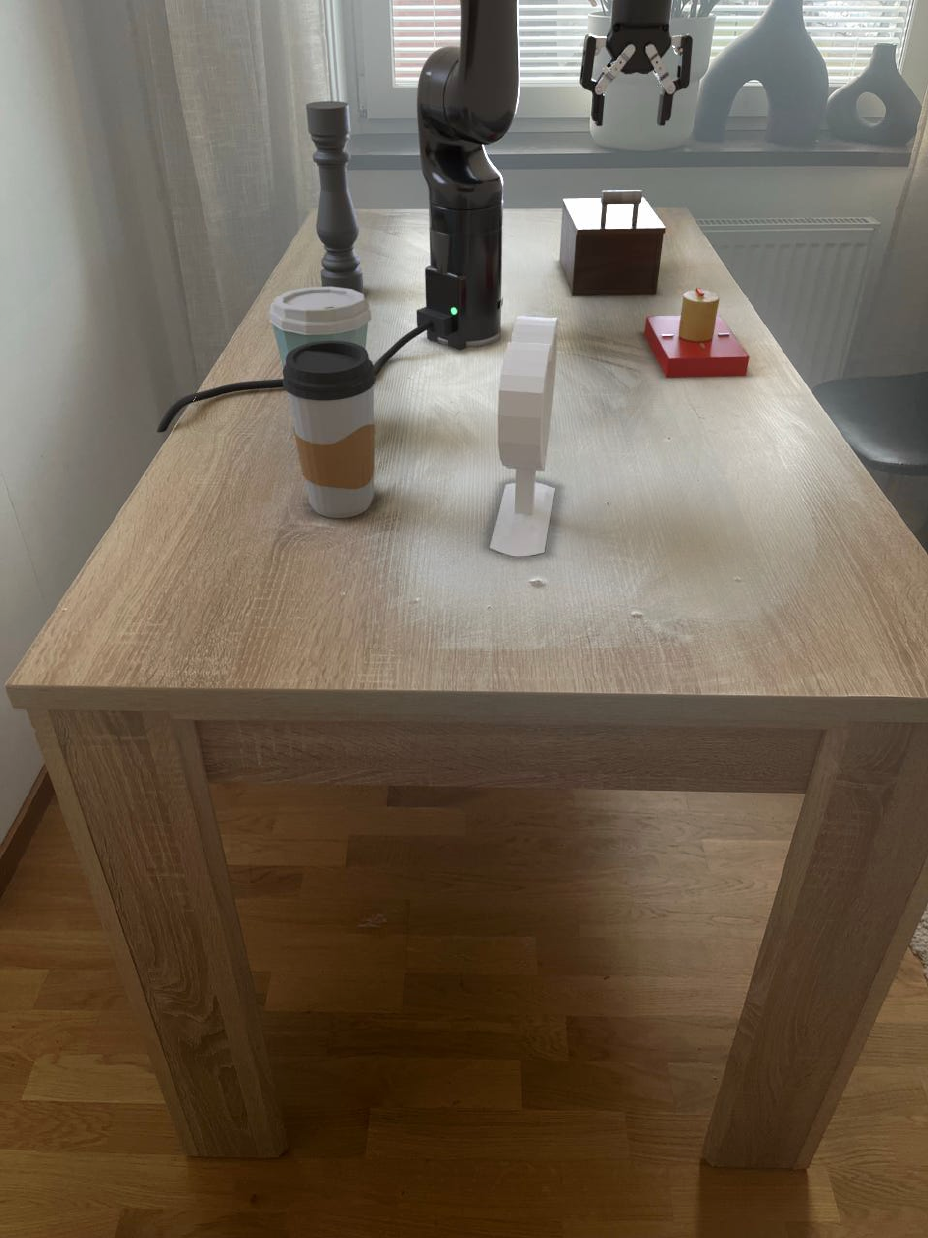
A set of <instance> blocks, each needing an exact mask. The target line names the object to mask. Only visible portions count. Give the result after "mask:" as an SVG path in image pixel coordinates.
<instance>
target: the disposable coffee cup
mask: <svg viewBox="0 0 928 1238" xmlns="http://www.w3.org/2000/svg"><path fill="white" fill-rule="evenodd" d="M269 309H270V310H269V321H268V322H269V323H270V324H271V325H272V331H273V334H274V338H275V340H276V345H277V349H278V353H279V357H280V361H281V365H282V369H283V368H284V366H285V365H286V357H287V354H288V353H289V352H290V351H292V350H293V349H295V348H297V347H299V346H302V345H305V344H308V343H313V342H318V341H345V342H350V343H354V344H357V345H360V346H362V347H363V348H364V349H366V348H367V338H368V327H369V322H371V321H372V310H371V309H370V301H368V300H367V299H366V298H365V293H364V294H362V293H360V292H357V291H355V290H352V289H346V288H338V287H322V286H309V287H304V288H296V289H292V290H288V291H285V292H284V293H281V294H279V295H277V296H275V297H274V301H272V302H271V303H270V308H269ZM366 350H367V349H366Z"/></svg>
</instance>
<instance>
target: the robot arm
mask: <svg viewBox="0 0 928 1238" xmlns="http://www.w3.org/2000/svg"><path fill="white" fill-rule="evenodd" d="M459 6H460V8H459V9H460V32H459V33H460V35H459V36H460V38H459V46H457V45H456V46H455V45H448V46H443V47H440V48H438V49H436V50H435V51H433V52H432V53H431V54H430V55H429V56H428V57H427V59H426V60H425V62H424V63H423V65H422V68H421V70H420V74H419V78H418V81H417V82H418V83H417V89H416V116H417V119H416V120H417V131H418V133H417V134H418V145H419V147H418V148H419V159H420V167H421V172H422V176H423V179H424V180H425V183H426V186H427V194H428V220H429V221H428V223H429V224H428V225H429V228H428V229H429V258H430V259H429V263H430V265H427V266H426V267H425V268H424V279H425V281H424V282H425V285H424V286H425V306H424V307H421V308H419V309H416V312H415V313H416V327H415V328H413V329H412V330H410V331H409V332H407V333H406V334H405V335H403V336H402V337H401V338H400V339H398V340H397V341H396V342H395V343H394V344H393V345H392V346H391V347H390V348H389V349H388V350H387V351H386V352H385V353H383V355H381V356H380V357H379V358H378V360H377V361H376V362H375V363H374V364H373V366H374V374H375V376H376V375H377V374H378V373H379V372H380V371H381V369H382V368H383V367H384V365H385V364H386V363H387V362H388V361H389V360H391V359H392V357H394V356H395V355H396V354H397V353H398V352H399V351H400V350H401V349H402V348H403V347H405V346H406V345H407V344H408V343H409V342H410V341H412V340H414V339H415V338H416V337H418V336H419V335H421V334H422V333H424V332H426V339H427V340H429V341H432V342H434V343H437V344H440V345H443V346H446V347H448V348H451V349H454V350H457V351H463V350H465V349H473V348H481V347H486V346H490V345H492V344H495V343H496V342H498V341H499V340H500V339H501V337H502V325H501V324H502V307H503V304H504V296H502V280H503V279H502V278H503V277H502V275H503V273H502V271H503V269H502V267H503V226H504V225H503V224H504V223H503V222H504V180H503V175H502V174H501V173H500V172H499V170H498V169H497V168H496V167H495V166H494V164H493V163H492V161H491V160H490V158H489V156H488V154H487V152H486V149H485V146H490V145H494V144H497V142H499V141H501V140H502V139H503V138H504V137H505V136H506V135H507V134H508V132H509V130H510V129H511V127H512V125H513V123H514V120H515V118H516V114H517V111H518V106H519V99H520V39H519V36H520V35H519V0H459ZM672 8H673V0H611V9H610V10H611V11H610V21H609V23H610V24H609V30H608V33H607V35H606V36H601V35H600V36H599V35H593V34H591V33H587V34H585V36H584V39H583V47H582V56H581V63H580V73H579V79H578V81H579V82H578V83H579V85H580V86H581V87H582V89H584V90H588V91H589V92H591V108H590V117H591V120H592V121H593V122H594V125H595V126H596V127H602V126H603V123H604V111H605V99H606V95H605V94H604V92H605V91H606V90H607V87H608V86H609V85H610V84H611V83H612V81H614V80H615V79H616V77H617V76H618V75H619V73H621V74H624V75H633V74H636V73H637V74H641V75H649V73H651V72H653V74H654V76H655V77H656V79H657V81H658V82H659V85H660V87H661V89H662V91H661V92H659V98H658V108H657V116H656V123H657V125H658V126H661V127H663V126H666V122H669V121H670V119H671V117H672V110H673V102H674V101H673V100H674V95H675V93H677V91H680V90H684V89H687V88H688V87H689V86H690V82H691V70H692V56H693V44H694V43H693V42H694V38H693V37H692V36H691V35H690V34H689V33H685V32H683V33H682V34H680V35H671V32H670V23H671V17H672V16H671V15H672ZM671 46H672V47H673V52H674V54H676V55H677V67H676V77H675V78H672V77H671V76H670V74H669V71H668V70H667V67H666V65H665V64H664V61H663V60H662V59H663V58H664V56H666V53H667V52H668V51H669V49H670V48H671ZM603 47H605V49H606V51H607V52H608V55H609V57H610V58H609V60H608V61H607V63H606V64H605V66H604V67H603V68H602V71H601V72H600V73H599V76H598V77H597V78H596V79H593V71H594V63H595V57H596V56H599V54H600V53H601V51H602V49H603ZM279 388H284V386H283V378H278V379H265V380H251V381H241V382H233V383H229V384H223V385H220V386H217V387H213V388H209V389H206V390H202V391H198V392H194V393H191V394H187V395H185V396H183V397H181V398H179V399H178V400H176V402H174V403H173V404H172V405H171V407H169V408H168V410H167V412H166V413H165V414H164V415H163V417H162V419H161V421H160V422H159V424H158V427H157V430H156V433H159V434H160V433H165V432H166V431H168V428H169V426H170V425H171V423H172V421H173V420H174V418H175V417H176V416H177V414H178V413H179V412H180V411H181V410H182V409H183V408H185V407H186V406H188V405H191V404H193V403H194V404H195V403H197V402H201V401H204V400H208V399H212V398H215V397H219V396H222V395H226V394H229V393H235V392H242V391H249V390H263V389H279ZM195 397H196V398H195ZM194 399H195V400H194ZM193 400H194V401H193Z"/></svg>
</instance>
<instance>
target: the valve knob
mask: <svg viewBox="0 0 928 1238" xmlns="http://www.w3.org/2000/svg"><path fill="white" fill-rule="evenodd" d="M720 298H721V297H720V295H719V294H718V293H716V292H713V291H710V290H704V289H703V290H702V288H701V287H695V289H693V290H689V291H686V292H685V293H684V294H683V297H682V304H681V310H680V316H681V317H680V324H679V331H678V335H679V336H680V337H681V338H683V339H685V340H689V341H696V342H701V341H708V340H710V339H712V338H713V335H714V329H715V323H716V317H717V315H718V311H719V304H720Z"/></svg>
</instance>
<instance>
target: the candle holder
mask: <svg viewBox="0 0 928 1238" xmlns="http://www.w3.org/2000/svg"><path fill="white" fill-rule="evenodd" d="M305 109H306V110H305V111H306V119H307V130H308V134H310V138H311V141H312V142H313V143H314V147H315V148H316V150H315V152H314V153H313V154H312V160H313V162H314V163H315V164H316V166H317V167H318V175H319V186H320V191H319V197H318V208H317V217H316V225H315V229H316V234H317V236H318V238H319V240H320V242H321V243H322V244H323V248H324V249H323V250H325V251H326V252H325V253H324V254H323V257H322V258H321V260H320V263H321V267H322V269H321V270H320V280H321V287H338V288H346V289H352V290H355V291H357V292H360V293H362V294H364V295H365V289H364V288H365V287H364V275H363V268H361V267H360V266H359V265H360V264H361V260H360V257H359V256H358V255H357V253H356V252H355V250H354V248H355V242H356V241H357V239H358V237H359V234H360V224H359V221H358V218H357V214H356V211H355V208H354V205H353V200H352V197H351V194H350V190H349V184H348V183H349V181H348V169H347V166H348V162H350V161H351V158H352V157H351V153H350V152H349V151H348V150H346V146H347V143H348V141H349V139H350V135H349V133H350V132H351V120H350V119H351V118H350V105H349V103H348V102H345V101H338V100H323V101H321V100H320V101H314V102H309V103H307V104H305Z"/></svg>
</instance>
